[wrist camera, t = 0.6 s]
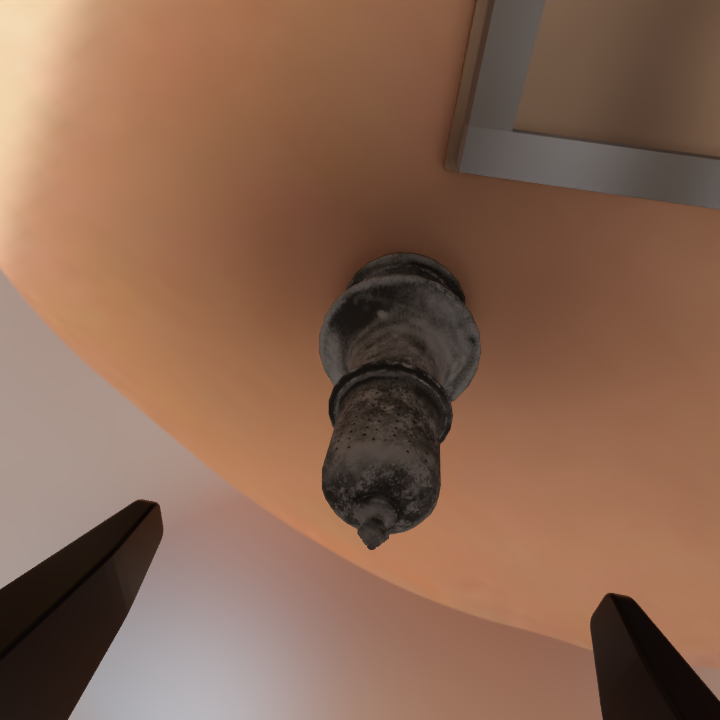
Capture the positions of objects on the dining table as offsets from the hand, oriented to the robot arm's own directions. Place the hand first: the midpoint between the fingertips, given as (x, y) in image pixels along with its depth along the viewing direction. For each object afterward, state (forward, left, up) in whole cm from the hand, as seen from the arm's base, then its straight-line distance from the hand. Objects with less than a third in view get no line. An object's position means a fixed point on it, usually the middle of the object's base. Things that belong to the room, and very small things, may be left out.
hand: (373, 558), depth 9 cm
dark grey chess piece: (0, 0, -12) cm, 12 cm away
